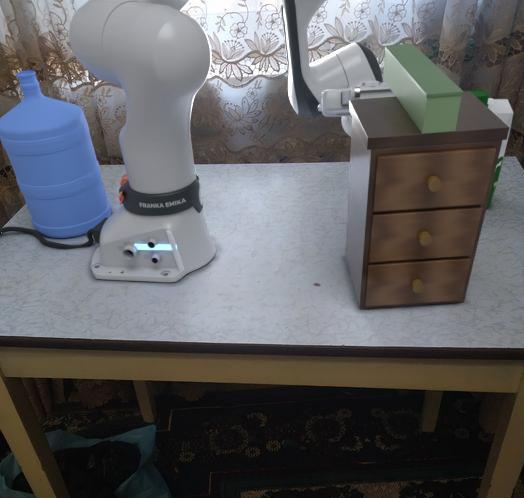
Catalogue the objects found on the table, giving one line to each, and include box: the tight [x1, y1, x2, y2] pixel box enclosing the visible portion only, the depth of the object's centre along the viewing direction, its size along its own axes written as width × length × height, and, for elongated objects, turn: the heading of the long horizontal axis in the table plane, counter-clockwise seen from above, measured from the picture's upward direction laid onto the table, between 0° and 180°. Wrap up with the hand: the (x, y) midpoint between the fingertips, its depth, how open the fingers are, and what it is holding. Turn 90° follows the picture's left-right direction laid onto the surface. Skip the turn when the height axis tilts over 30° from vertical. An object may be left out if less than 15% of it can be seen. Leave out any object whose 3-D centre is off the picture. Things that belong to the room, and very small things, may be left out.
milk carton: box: [468, 89, 514, 210], centre depth 98 cm, size 9×9×20 cm
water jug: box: [0, 69, 112, 239], centre depth 99 cm, size 16×16×28 cm
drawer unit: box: [345, 90, 509, 310], centre depth 77 cm, size 17×17×26 cm
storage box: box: [382, 43, 464, 134], centre depth 71 cm, size 4×24×4 cm, turn 1°
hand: (383, 90), depth 89 cm, fingers open, 8 cm apart
